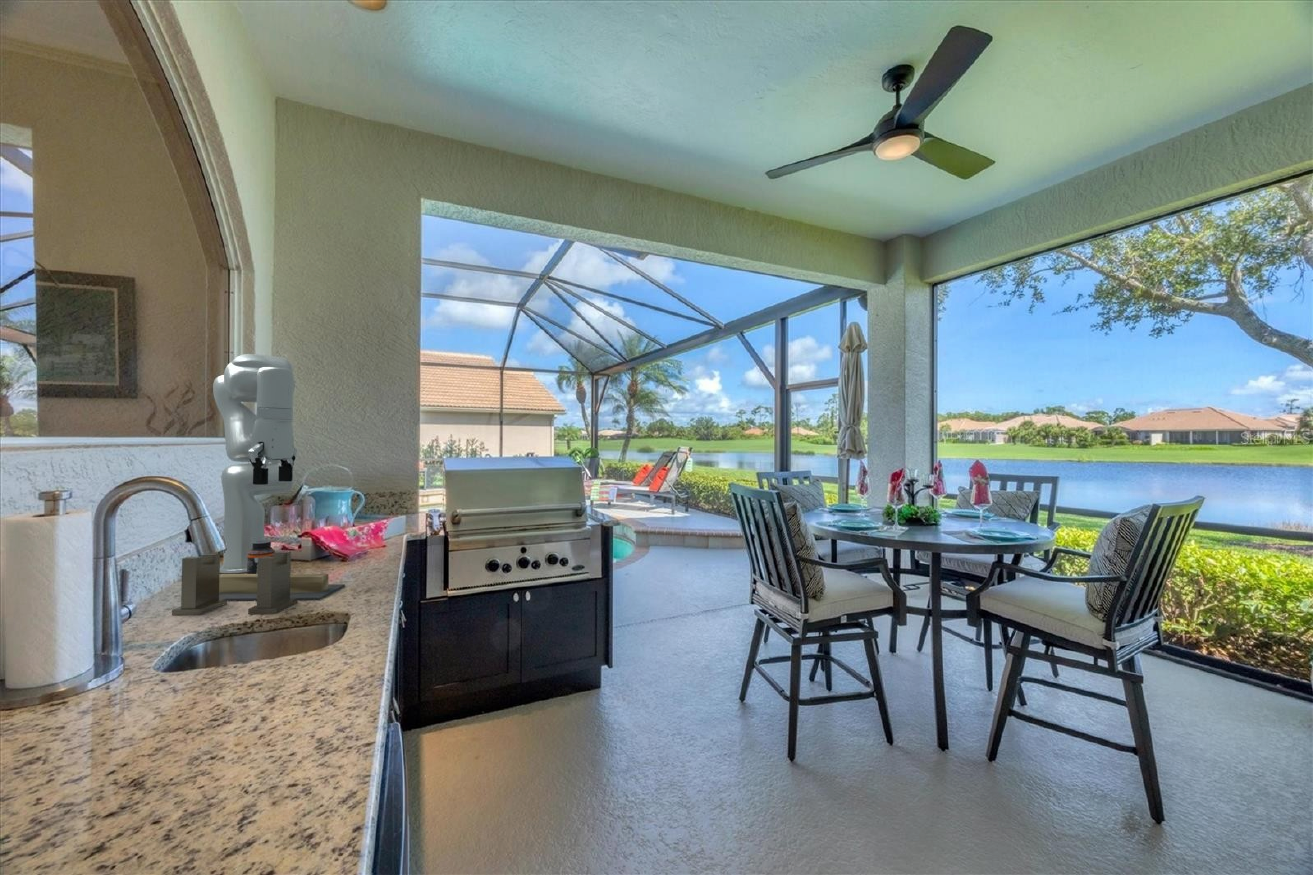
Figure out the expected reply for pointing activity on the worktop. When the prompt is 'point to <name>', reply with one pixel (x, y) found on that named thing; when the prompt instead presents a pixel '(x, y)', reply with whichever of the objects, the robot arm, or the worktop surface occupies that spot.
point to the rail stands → (204, 585)
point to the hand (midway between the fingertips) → (273, 482)
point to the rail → (249, 583)
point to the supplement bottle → (258, 555)
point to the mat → (300, 596)
